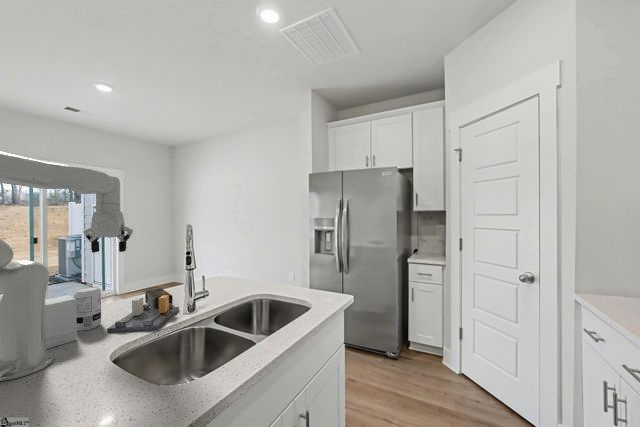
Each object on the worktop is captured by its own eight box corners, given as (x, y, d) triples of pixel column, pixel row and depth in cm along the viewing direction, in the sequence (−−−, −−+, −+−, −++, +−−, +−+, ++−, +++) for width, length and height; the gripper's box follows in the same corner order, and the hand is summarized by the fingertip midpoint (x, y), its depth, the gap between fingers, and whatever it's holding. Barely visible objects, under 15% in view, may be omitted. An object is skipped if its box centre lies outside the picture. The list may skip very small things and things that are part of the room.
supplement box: (77, 340, 98) (77, 298, 97) (42, 350, 90) (42, 305, 90) (69, 333, 103) (69, 294, 102) (35, 343, 95) (35, 301, 95)
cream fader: (138, 315, 115) (138, 299, 115) (132, 315, 115) (131, 300, 115) (143, 311, 119) (143, 296, 119) (137, 312, 119) (137, 297, 119)
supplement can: (70, 329, 107) (69, 291, 107) (95, 321, 114) (94, 285, 114) (80, 333, 103) (79, 293, 103) (105, 325, 110) (104, 288, 110)
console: (157, 329, 105) (157, 320, 105) (107, 332, 103) (107, 323, 103) (179, 310, 126) (178, 302, 126) (137, 312, 124) (137, 304, 124)
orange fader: (164, 312, 118) (164, 297, 118) (158, 313, 118) (158, 298, 118) (169, 309, 122) (168, 294, 122) (163, 309, 122) (162, 295, 122)
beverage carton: (162, 298, 144) (162, 286, 144) (173, 308, 130) (173, 294, 130) (144, 302, 139) (144, 289, 138) (154, 312, 125) (154, 298, 125)
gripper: (76, 208, 102) (77, 253, 102) (126, 207, 104) (127, 252, 104) (91, 208, 109) (91, 250, 109) (137, 208, 111) (138, 249, 111)
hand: (109, 251), depth 106 cm, fingers open, 9 cm apart
